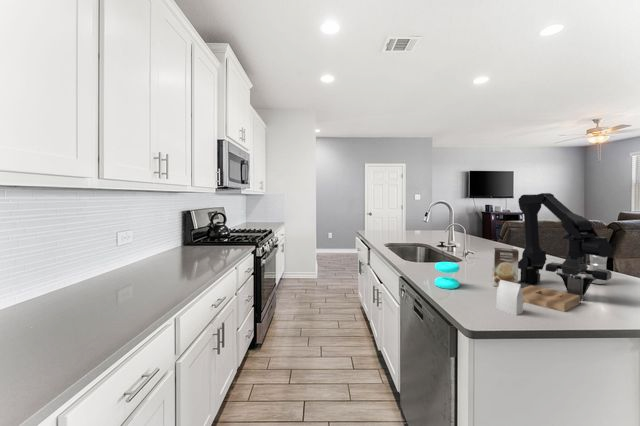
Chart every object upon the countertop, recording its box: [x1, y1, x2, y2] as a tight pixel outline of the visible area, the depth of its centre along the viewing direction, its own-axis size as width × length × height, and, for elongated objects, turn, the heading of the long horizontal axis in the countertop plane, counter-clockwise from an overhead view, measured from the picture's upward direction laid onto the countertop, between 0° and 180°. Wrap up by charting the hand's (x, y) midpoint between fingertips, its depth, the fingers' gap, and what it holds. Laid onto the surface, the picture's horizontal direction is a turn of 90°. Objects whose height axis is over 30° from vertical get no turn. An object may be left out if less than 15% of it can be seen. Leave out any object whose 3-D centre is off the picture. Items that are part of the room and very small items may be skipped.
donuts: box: [434, 261, 461, 290], centre depth 137 cm, size 10×10×10 cm
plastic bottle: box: [588, 254, 609, 285], centre depth 139 cm, size 6×7×20 cm
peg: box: [566, 274, 585, 302], centre depth 120 cm, size 4×4×9 cm
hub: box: [521, 285, 581, 313], centre depth 117 cm, size 16×14×3 cm
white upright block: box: [495, 280, 524, 316], centre depth 107 cm, size 4×7×10 cm, turn 29°
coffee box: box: [491, 247, 520, 288], centre depth 137 cm, size 9×6×16 cm
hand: (576, 293), depth 120 cm, fingers closed on peg, 4 cm apart
